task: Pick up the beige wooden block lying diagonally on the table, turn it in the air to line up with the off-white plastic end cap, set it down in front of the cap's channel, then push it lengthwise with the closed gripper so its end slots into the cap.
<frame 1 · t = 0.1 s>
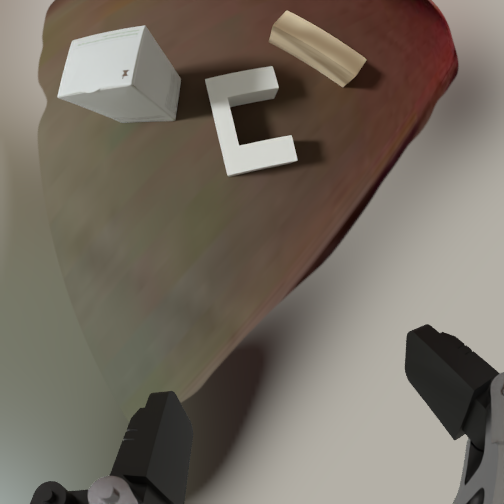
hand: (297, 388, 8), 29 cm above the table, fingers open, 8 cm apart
beige wooden block: (311, 55, 32), on the table
skincare box: (149, 102, 32), on the table
end cap: (249, 125, 33), on the table
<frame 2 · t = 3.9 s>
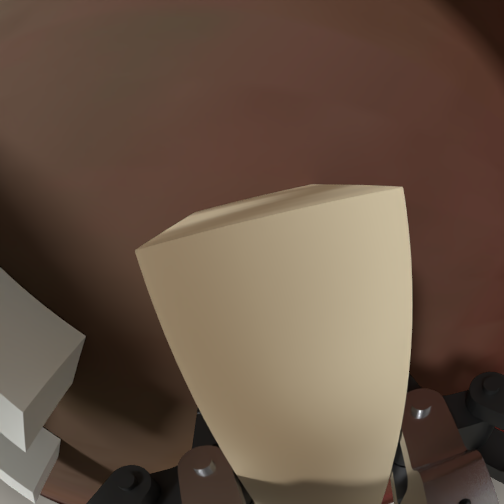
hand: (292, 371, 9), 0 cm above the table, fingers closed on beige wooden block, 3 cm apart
beige wooden block: (292, 366, 10), on the table, touching gripper
end cap: (6, 370, 9), on the table
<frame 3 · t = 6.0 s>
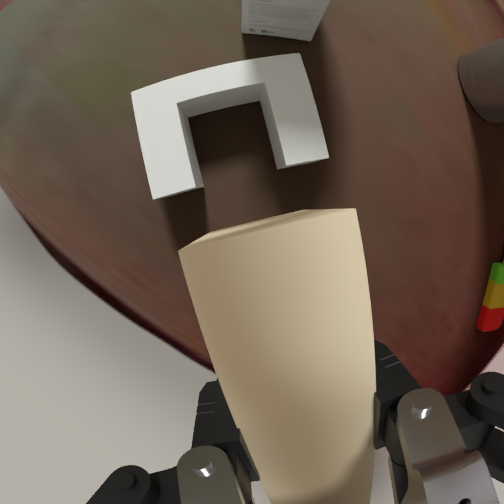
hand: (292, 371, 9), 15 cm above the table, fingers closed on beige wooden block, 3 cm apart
beige wooden block: (290, 364, 11), point 13 cm above the table, tilted 5°, touching gripper
skincare box: (276, 7, 19), on the table
popsicle: (497, 274, 27), on the table
end cap: (229, 130, 21), on the table
when the fingers open (1 cm above the table, at t = 8.4 s): beige wooden block stays where it is, on the table.
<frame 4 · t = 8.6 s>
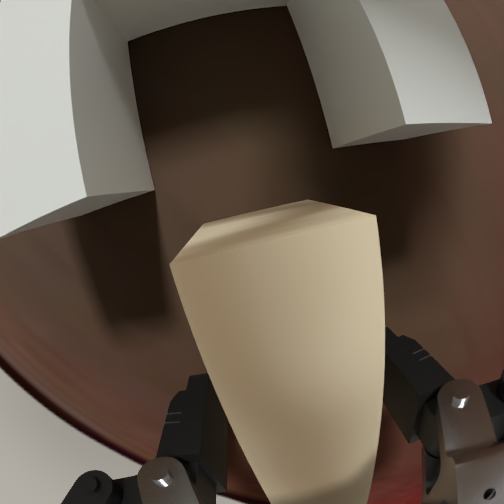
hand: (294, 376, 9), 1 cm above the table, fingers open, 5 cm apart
beige wooden block: (289, 360, 11), on the table
end cap: (217, 58, 8), on the table
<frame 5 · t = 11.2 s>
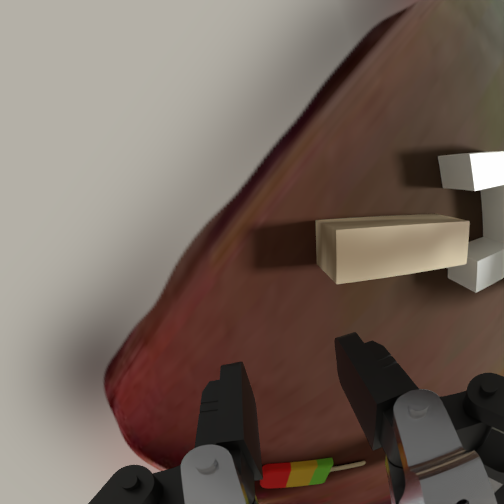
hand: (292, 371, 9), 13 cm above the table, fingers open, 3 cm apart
beige wooden block: (381, 236, 22), on the table
popsicle: (314, 466, 30), on the table
end cap: (471, 212, 22), on the table
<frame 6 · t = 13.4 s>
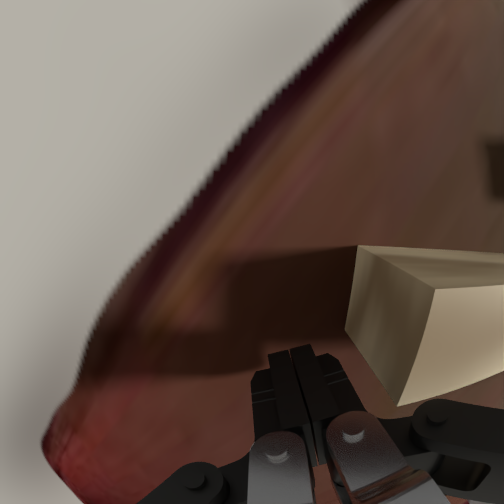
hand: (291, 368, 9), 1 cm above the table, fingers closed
beige wooden block: (455, 285, 11), on the table, touching gripper
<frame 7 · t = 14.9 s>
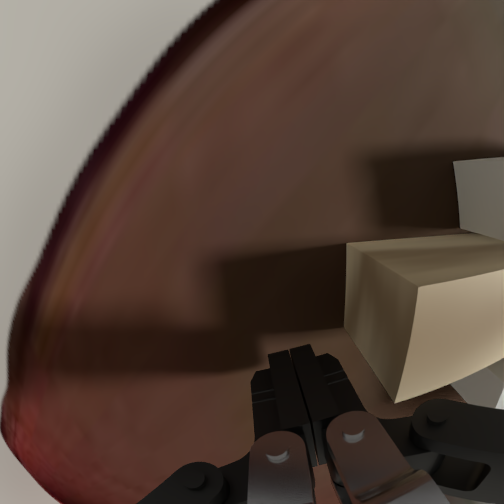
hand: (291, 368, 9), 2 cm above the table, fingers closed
beige wooden block: (455, 269, 11), on the table, touching end cap, gripper
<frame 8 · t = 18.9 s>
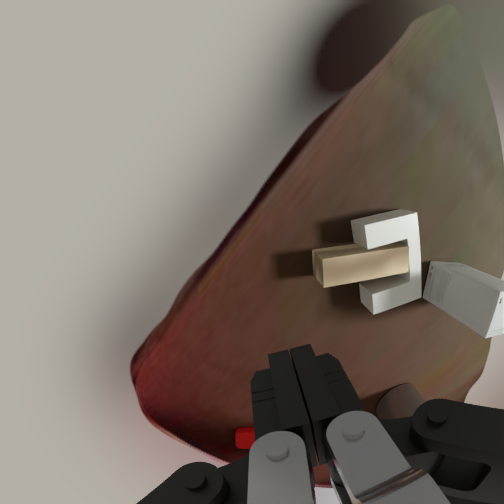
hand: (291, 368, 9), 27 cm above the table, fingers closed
beige wooden block: (353, 256, 37), on the table
skincare box: (442, 278, 39), on the table
popsicle: (275, 432, 45), on the table
end cap: (381, 256, 37), on the table
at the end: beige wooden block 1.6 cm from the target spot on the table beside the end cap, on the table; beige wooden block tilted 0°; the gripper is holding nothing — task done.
